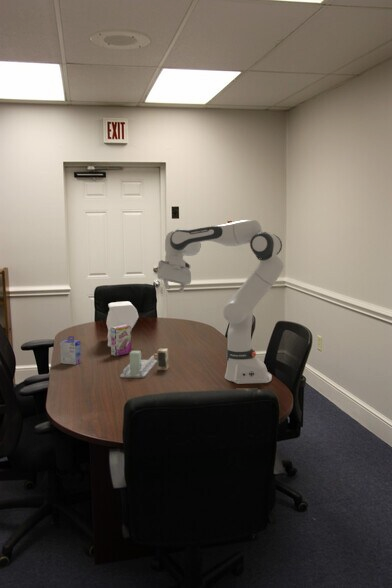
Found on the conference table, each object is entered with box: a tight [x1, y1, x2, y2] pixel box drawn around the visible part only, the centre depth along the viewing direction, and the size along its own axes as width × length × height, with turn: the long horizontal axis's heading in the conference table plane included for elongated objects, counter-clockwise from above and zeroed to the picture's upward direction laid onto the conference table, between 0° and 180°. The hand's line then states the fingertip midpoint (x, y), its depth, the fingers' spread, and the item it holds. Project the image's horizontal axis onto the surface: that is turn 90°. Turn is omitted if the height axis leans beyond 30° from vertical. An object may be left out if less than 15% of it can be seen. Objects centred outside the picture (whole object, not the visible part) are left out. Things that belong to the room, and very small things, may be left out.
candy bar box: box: [110, 325, 132, 357], centre depth 282 cm, size 11×5×16 cm, turn 134°
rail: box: [119, 350, 158, 379], centre depth 253 cm, size 12×28×11 cm, turn 172°
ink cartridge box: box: [59, 335, 82, 365], centre depth 266 cm, size 10×6×14 cm, turn 70°
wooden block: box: [156, 348, 169, 371], centre depth 253 cm, size 4×6×10 cm
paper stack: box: [106, 300, 139, 348], centre depth 308 cm, size 21×27×26 cm
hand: (174, 290), depth 240 cm, fingers open, 8 cm apart
